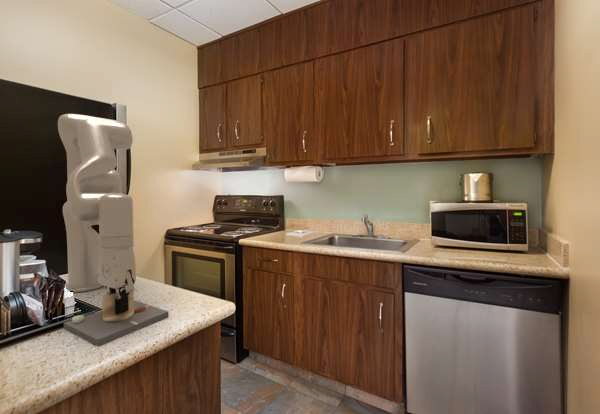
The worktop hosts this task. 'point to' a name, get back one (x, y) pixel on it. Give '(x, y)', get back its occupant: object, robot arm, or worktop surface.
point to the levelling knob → (109, 308)
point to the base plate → (112, 324)
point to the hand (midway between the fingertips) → (118, 310)
